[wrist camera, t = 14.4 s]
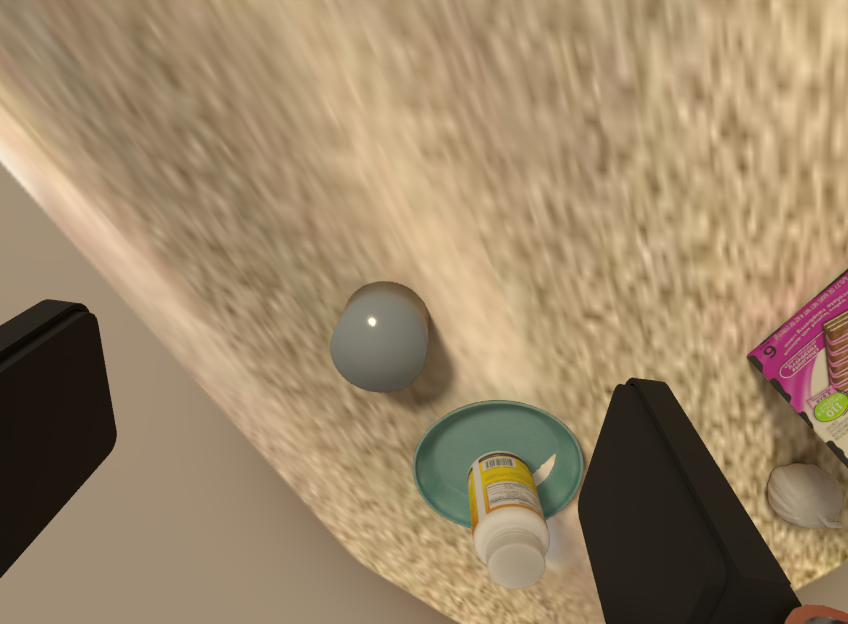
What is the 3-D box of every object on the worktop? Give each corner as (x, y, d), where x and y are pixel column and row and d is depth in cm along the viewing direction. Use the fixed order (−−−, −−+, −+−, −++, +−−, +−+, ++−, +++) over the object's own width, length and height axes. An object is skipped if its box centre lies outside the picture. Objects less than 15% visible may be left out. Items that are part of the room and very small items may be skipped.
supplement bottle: (496, 512, 47) (513, 611, 38) (453, 474, 46) (458, 567, 37) (544, 474, 46) (574, 568, 36) (501, 435, 45) (520, 521, 35)
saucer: (434, 519, 53) (433, 541, 51) (397, 398, 47) (393, 416, 44) (585, 500, 51) (592, 522, 48) (567, 370, 45) (573, 388, 42)
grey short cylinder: (435, 287, 42) (431, 315, 37) (424, 363, 45) (420, 398, 40) (346, 275, 42) (332, 302, 37) (341, 352, 45) (328, 385, 40)
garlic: (837, 479, 47) (878, 526, 43) (780, 509, 49) (813, 558, 44) (801, 440, 46) (840, 484, 41) (743, 472, 48) (774, 518, 43)
